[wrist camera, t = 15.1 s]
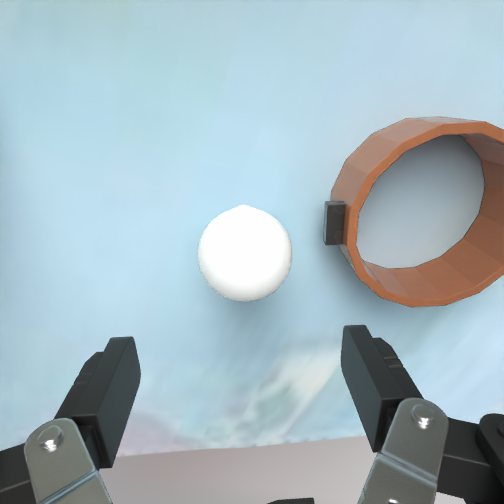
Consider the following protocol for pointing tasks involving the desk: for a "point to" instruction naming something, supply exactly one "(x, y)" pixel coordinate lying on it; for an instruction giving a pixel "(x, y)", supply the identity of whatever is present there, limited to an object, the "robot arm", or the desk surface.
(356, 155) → the copper pot
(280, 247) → the lightbulb
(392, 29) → the desk surface
